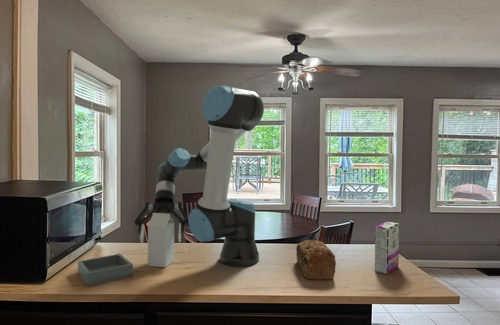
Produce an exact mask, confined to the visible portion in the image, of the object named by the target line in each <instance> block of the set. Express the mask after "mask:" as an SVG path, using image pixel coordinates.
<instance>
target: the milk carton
mask: <svg viewBox="0 0 500 325" xmlns="http://www.w3.org/2000/svg"><path fill="white" fill-rule="evenodd" d="M174 262H175V221H174V220H173V217H172V216H171V215H170V214H165V213H153V216H152V218H151V220H150V221H149V222H148V223H147V266H148V267H157V268H167V267H168V266H169V265H171V264H172V263H174Z"/></svg>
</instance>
